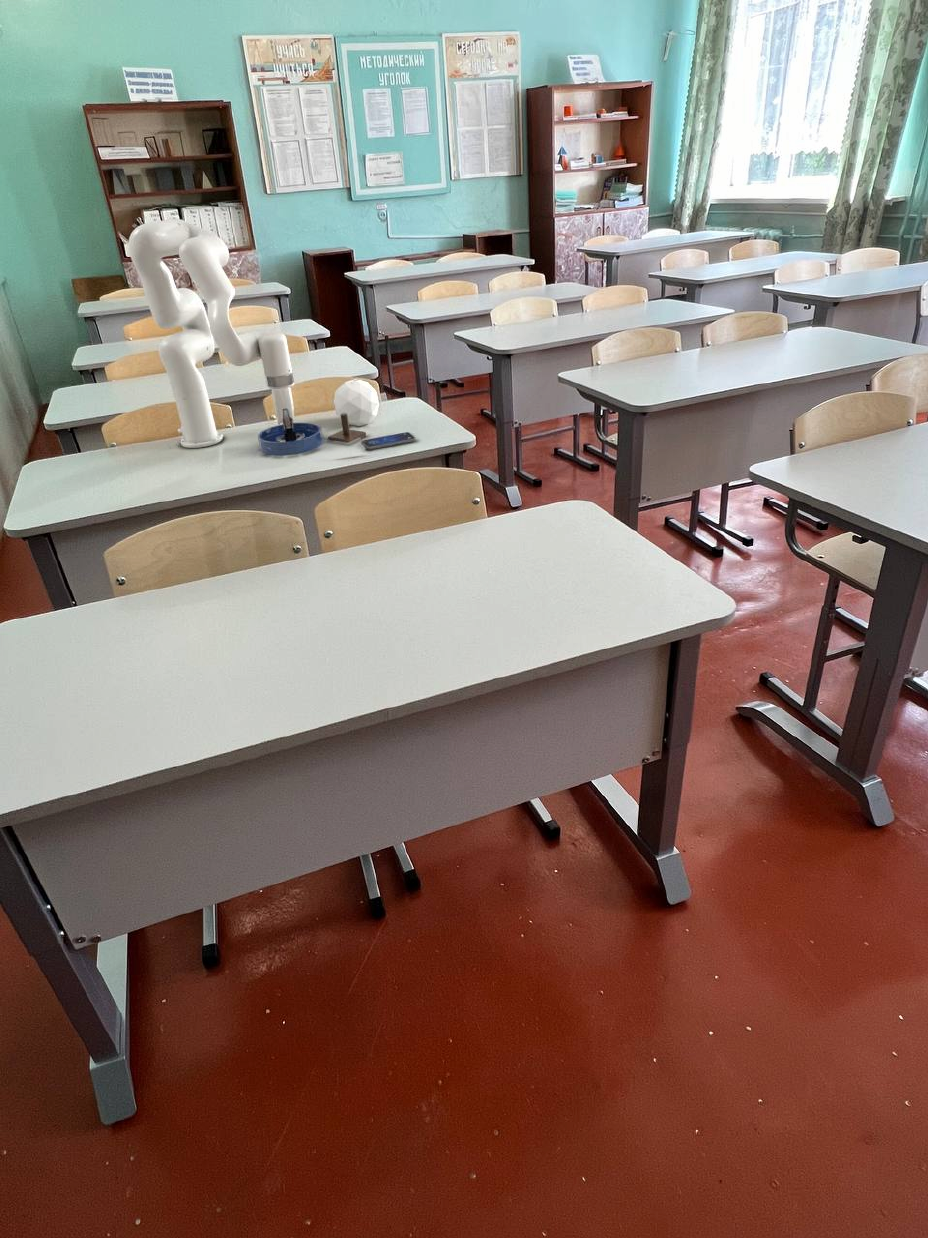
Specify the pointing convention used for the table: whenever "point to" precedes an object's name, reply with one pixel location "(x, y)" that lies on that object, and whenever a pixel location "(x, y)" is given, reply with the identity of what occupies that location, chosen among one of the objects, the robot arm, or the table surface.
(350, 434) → the peg board base
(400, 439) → the smartphone
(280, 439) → the ring
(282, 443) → the bowl
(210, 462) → the table surface
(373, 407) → the geodesic sphere
